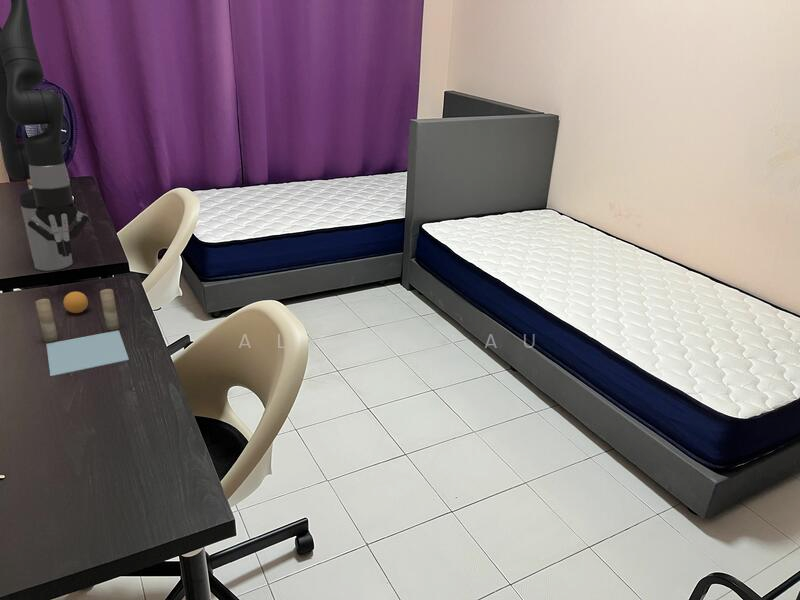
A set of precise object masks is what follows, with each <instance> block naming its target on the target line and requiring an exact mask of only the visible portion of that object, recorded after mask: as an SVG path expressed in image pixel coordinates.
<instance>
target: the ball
mask: <svg viewBox="0 0 800 600" xmlns="http://www.w3.org/2000/svg"><path fill="white" fill-rule="evenodd" d="M88 300H89V299H88V297H87V296H86V295H85V294H84V293H83V292H81V291H70V292H69V293H67V294H66V295H65V296H64V299H63V302H62V303H63V306H64V308H65V310H67V311H68V312H69V313H73V314H80V313H82V312H84V311H85V310H86V309H87V308H88V304H89V301H88Z"/></svg>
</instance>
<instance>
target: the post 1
mask: <svg viewBox="0 0 800 600" xmlns="http://www.w3.org/2000/svg"><path fill="white" fill-rule="evenodd" d="M35 307H36V311H37V315H38V319H39V320H38V321H39V323H40V324H39V325H40V328H41V333H42V337H43V341H44V342H45V343H46V344H48V343H54V342H58V340H59V336H58V332H57V327H56V323H55V318H54V313H53V308H52V304H51V301H50V299H49V298H41V299H38V300H35Z"/></svg>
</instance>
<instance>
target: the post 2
mask: <svg viewBox="0 0 800 600" xmlns="http://www.w3.org/2000/svg"><path fill="white" fill-rule="evenodd" d="M99 294H100V300H101V306H102V312H103V316H104V322H105V323H104V324H105V328H106V331H108V332H113V331H118V329H120V322H119V319H118V318H119V316H118V312H117V305H116V299H115V294H114V290H113V289H112V288H105V289H102V290H100V292H99Z"/></svg>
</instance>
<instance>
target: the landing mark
mask: <svg viewBox="0 0 800 600" xmlns="http://www.w3.org/2000/svg"><path fill="white" fill-rule="evenodd" d="M46 352H47V359H48V367H49V376H50V377H57V376H61V375H65V374H70V373H75V372H80V371H84V370H89V369H94V368H98V367H99V368H100V367H104V366H108V365H113V364H119V363H122V362H128V361H129V360H130V358H129V355H128V353H127V350H126V348H125V344H124V341H123V338H122V336H121V333H120V330H118V329H117V330H115V331H108V332H103V333H97V334H91V335H87V336H82V337H76V338H72V339H71V338H70V339H66V340H60V341H54V342H50V343H46Z"/></svg>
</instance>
